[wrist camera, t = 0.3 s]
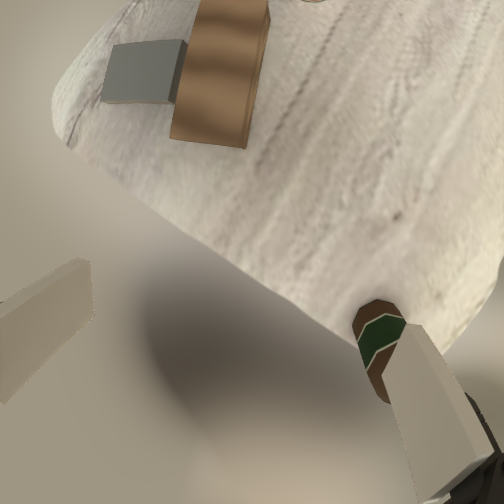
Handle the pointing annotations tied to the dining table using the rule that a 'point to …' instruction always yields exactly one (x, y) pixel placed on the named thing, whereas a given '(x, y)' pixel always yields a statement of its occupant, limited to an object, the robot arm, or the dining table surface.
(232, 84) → the walnut arch bridge
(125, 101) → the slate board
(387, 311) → the beer bottle
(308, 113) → the dining table surface
